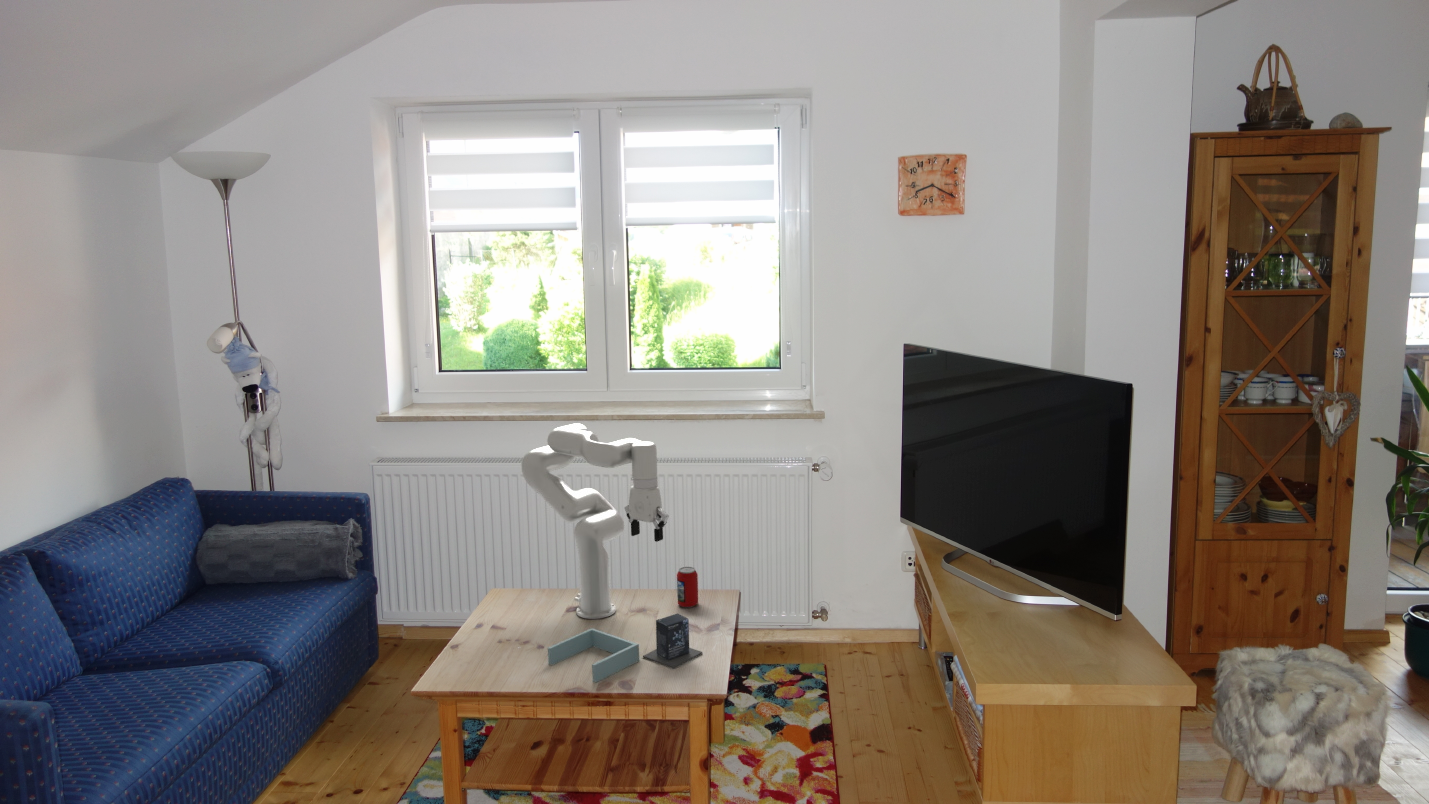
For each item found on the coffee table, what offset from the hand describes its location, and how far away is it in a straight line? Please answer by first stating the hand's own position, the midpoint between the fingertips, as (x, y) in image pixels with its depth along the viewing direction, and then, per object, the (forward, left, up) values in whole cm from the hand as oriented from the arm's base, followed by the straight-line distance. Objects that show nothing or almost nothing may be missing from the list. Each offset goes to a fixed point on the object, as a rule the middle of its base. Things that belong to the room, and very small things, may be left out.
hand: (647, 537), depth 284 cm
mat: (+20, -12, -28) cm, 37 cm away
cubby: (+5, -29, -28) cm, 41 cm away
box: (+20, -12, -28) cm, 36 cm away
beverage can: (-2, +20, -28) cm, 35 cm away
